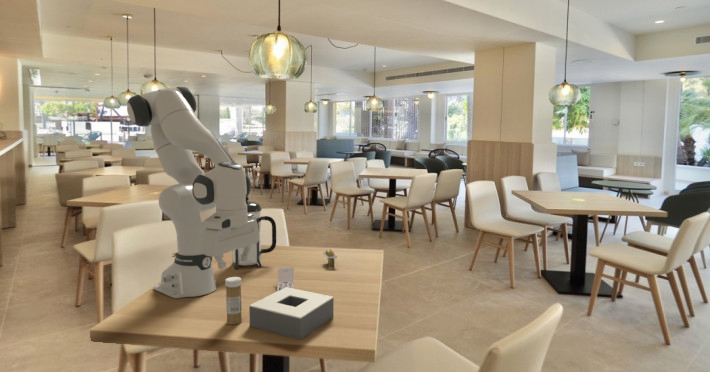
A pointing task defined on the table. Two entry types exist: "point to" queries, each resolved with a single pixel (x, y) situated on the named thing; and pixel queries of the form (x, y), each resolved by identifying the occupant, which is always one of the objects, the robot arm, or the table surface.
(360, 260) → the table surface
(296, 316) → the socket block
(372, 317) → the table surface
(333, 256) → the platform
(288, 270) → the mobile phone
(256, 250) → the coffee press
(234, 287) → the sprinkles bottle
